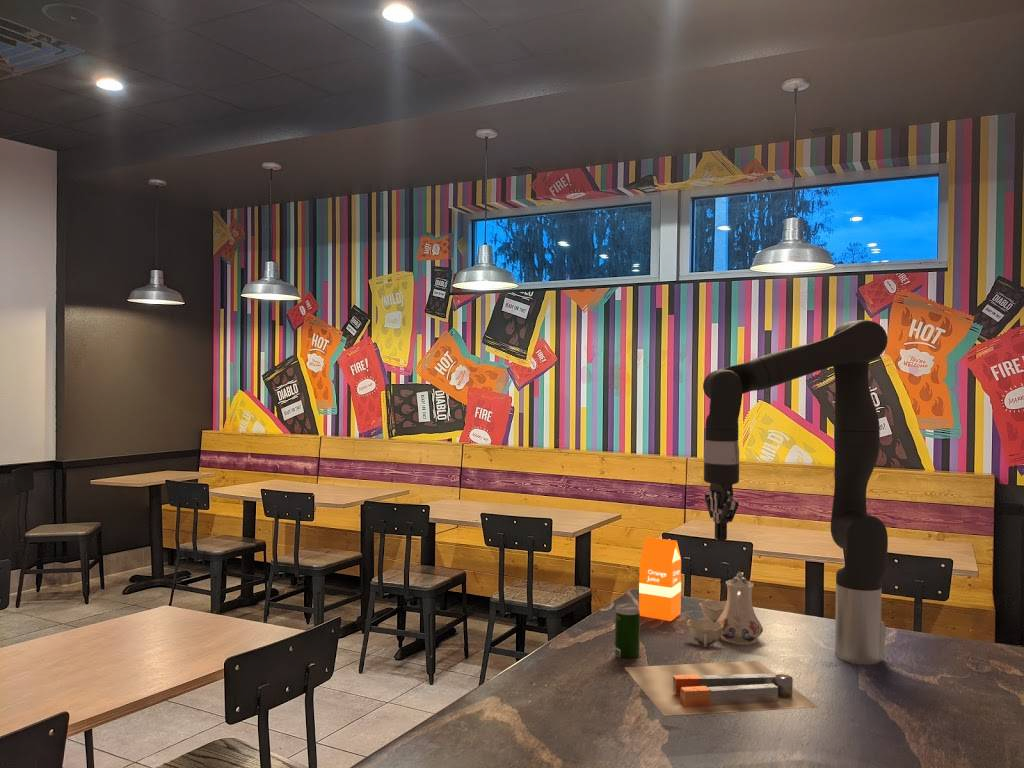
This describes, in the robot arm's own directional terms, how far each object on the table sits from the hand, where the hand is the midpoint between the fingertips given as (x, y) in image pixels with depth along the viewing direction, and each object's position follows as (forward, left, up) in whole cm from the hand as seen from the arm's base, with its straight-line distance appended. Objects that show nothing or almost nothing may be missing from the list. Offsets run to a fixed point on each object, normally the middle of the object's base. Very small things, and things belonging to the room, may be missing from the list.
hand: (720, 539), depth 175 cm
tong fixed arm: (+9, +24, -25) cm, 36 cm away
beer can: (+20, -3, -27) cm, 34 cm away
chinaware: (-9, -16, -27) cm, 33 cm away
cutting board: (+8, +16, -27) cm, 33 cm away
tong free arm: (+7, +22, -25) cm, 34 cm away
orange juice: (+1, -35, -27) cm, 44 cm away
